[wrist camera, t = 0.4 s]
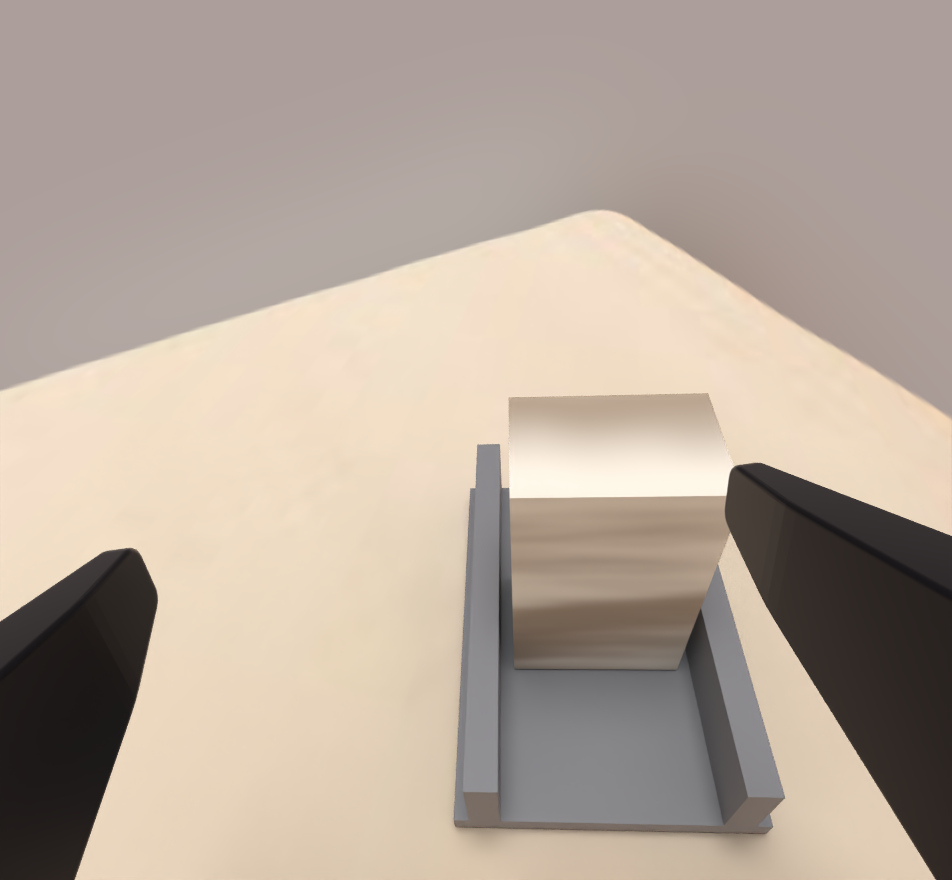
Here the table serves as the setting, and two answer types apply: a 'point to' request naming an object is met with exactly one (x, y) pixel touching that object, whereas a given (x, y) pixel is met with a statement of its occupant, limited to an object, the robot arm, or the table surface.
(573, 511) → the cream block
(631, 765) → the gray chute
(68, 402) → the table surface
